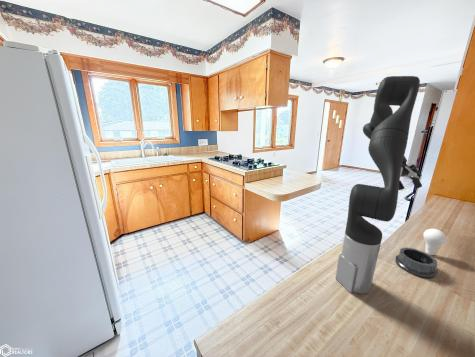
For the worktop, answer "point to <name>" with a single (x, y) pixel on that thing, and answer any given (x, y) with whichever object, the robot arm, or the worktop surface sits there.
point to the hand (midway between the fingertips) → (410, 188)
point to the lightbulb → (433, 240)
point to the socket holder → (417, 263)
